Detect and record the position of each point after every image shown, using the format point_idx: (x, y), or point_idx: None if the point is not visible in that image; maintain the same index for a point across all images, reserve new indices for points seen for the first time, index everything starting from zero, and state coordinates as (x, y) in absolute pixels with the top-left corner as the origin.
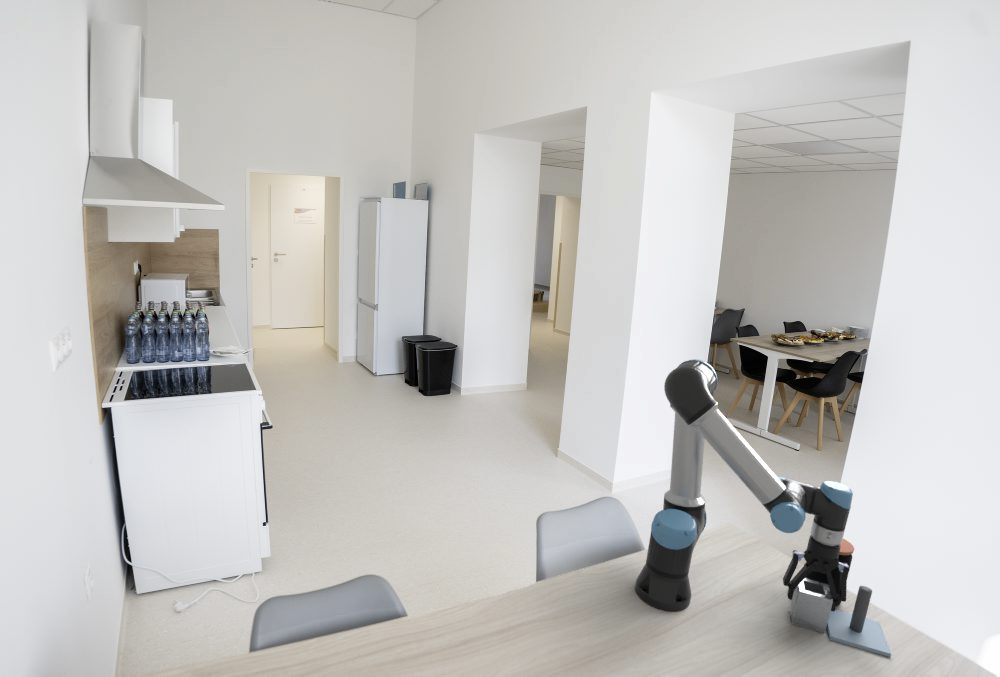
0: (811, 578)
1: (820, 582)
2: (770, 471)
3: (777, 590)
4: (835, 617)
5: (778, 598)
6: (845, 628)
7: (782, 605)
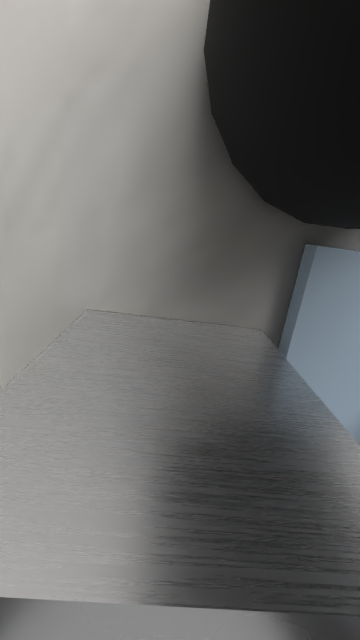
0: (306, 44)
1: (347, 627)
2: None
3: (15, 98)
4: (345, 348)
5: (22, 224)
6: (355, 428)
7: (46, 301)
